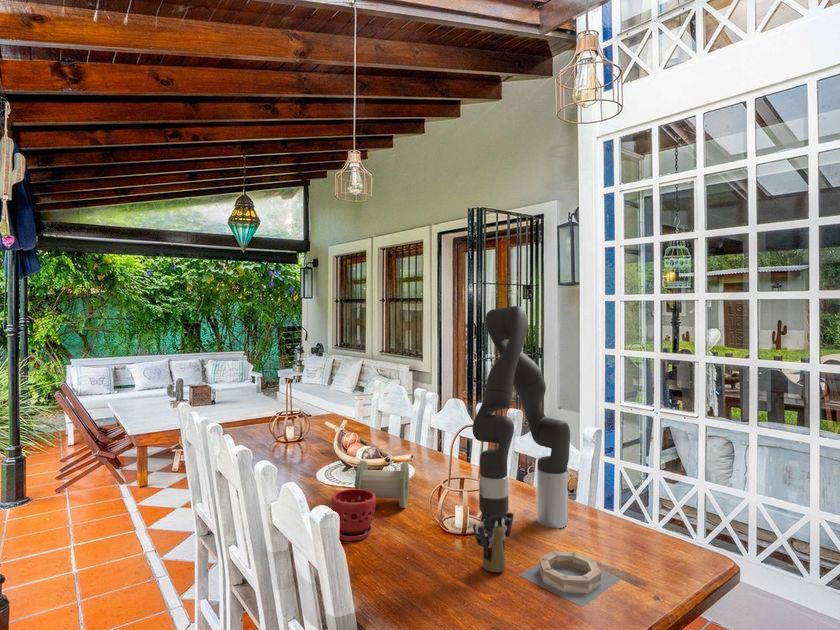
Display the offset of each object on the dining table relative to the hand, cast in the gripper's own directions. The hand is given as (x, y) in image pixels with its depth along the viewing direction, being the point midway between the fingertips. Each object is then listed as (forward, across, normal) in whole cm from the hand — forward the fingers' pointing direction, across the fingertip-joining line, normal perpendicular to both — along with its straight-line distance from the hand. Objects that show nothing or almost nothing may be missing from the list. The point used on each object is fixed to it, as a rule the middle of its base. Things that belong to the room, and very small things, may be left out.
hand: (494, 557), depth 129 cm
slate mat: (+4, -12, +15) cm, 19 cm away
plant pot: (+4, +15, -42) cm, 45 cm away
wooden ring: (+3, -12, +15) cm, 19 cm away
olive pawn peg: (+3, 0, 0) cm, 3 cm away
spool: (+4, -5, -54) cm, 54 cm away
